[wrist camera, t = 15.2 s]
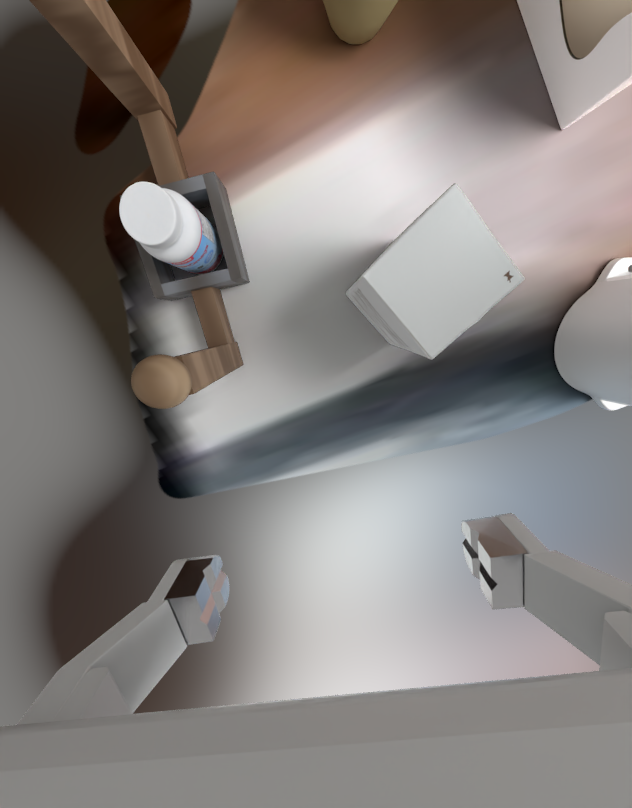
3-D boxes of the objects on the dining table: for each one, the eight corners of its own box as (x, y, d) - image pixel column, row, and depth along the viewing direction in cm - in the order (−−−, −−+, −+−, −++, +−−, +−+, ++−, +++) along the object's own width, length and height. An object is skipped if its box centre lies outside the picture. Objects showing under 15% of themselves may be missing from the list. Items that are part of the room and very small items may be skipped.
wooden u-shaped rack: (197, 79, 31) (19, -282, 12) (270, 362, 38) (227, 400, 20) (107, 104, 31) (-191, -203, 13) (197, 378, 39) (91, 429, 21)
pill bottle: (188, 282, 36) (132, 266, 25) (164, 229, 34) (94, 187, 24) (233, 264, 35) (196, 239, 24) (212, 209, 34) (162, 157, 23)
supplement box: (400, 235, 34) (459, 174, 20) (446, 295, 36) (532, 278, 22) (342, 292, 36) (358, 274, 22) (389, 346, 38) (433, 362, 23)
